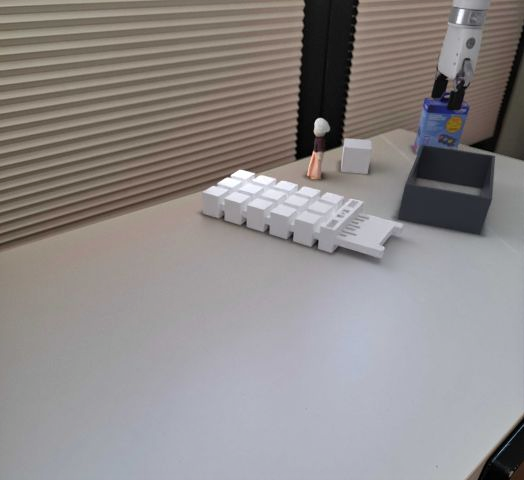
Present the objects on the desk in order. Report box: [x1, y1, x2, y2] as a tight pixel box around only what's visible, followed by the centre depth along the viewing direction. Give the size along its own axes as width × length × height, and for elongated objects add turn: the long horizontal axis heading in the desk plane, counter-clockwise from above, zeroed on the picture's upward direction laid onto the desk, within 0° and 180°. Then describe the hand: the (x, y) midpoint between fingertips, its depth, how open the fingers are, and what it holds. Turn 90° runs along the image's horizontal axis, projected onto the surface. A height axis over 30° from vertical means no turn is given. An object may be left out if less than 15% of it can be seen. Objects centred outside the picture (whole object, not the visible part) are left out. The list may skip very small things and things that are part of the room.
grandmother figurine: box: [306, 117, 331, 181], centre depth 108 cm, size 8×4×13 cm, turn 6°
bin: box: [397, 145, 496, 236], centre depth 102 cm, size 23×15×8 cm, turn 159°
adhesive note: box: [340, 137, 373, 175], centre depth 115 cm, size 6×6×6 cm
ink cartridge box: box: [413, 91, 471, 155], centre depth 122 cm, size 10×6×14 cm, turn 88°
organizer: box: [202, 169, 404, 259], centre depth 93 cm, size 13×5×35 cm
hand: (444, 103), depth 119 cm, fingers open, 9 cm apart
